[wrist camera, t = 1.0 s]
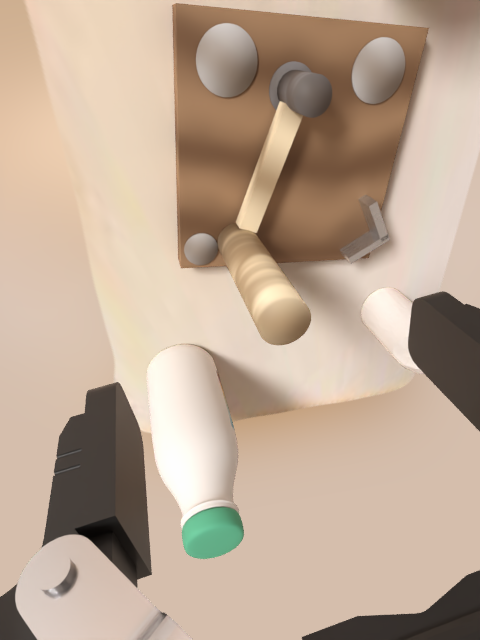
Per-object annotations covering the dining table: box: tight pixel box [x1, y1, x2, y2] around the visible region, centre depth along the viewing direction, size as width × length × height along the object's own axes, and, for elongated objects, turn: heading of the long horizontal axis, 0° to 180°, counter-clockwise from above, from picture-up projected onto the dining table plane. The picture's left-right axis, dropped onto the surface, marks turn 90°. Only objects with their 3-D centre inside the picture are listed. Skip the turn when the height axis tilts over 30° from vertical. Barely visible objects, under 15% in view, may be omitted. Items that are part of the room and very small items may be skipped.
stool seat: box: [172, 3, 429, 268], centre depth 35 cm, size 19×19×2 cm
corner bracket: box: [339, 195, 390, 263], centre depth 38 cm, size 4×4×2 cm
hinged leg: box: [218, 70, 332, 345], centre depth 28 cm, size 16×4×13 cm, turn 160°
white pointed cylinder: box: [361, 287, 424, 374], centre depth 44 cm, size 6×12×6 cm
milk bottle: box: [147, 344, 244, 559], centre depth 38 cm, size 8×8×20 cm
